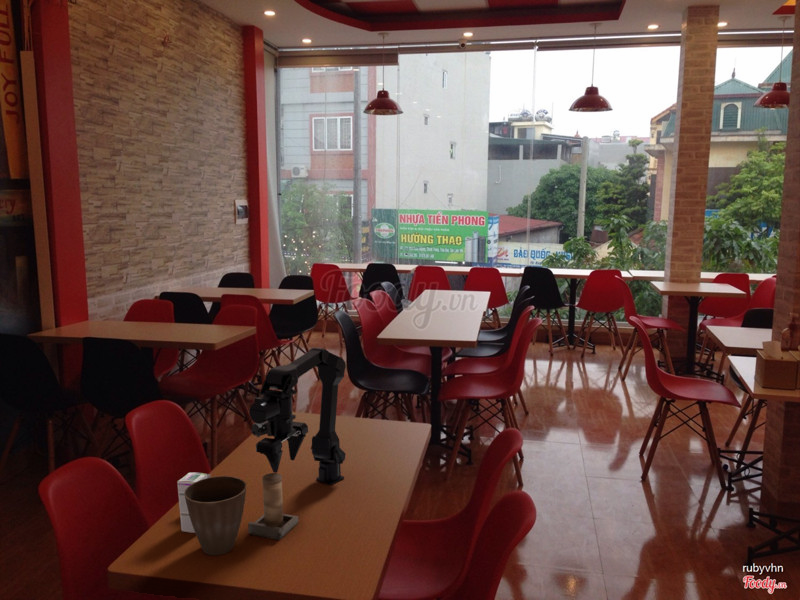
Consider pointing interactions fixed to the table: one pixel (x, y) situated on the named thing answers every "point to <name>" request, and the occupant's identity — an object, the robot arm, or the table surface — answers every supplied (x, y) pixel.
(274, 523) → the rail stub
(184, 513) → the syrup box
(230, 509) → the plant pot
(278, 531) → the grey tray
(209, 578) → the table surface
